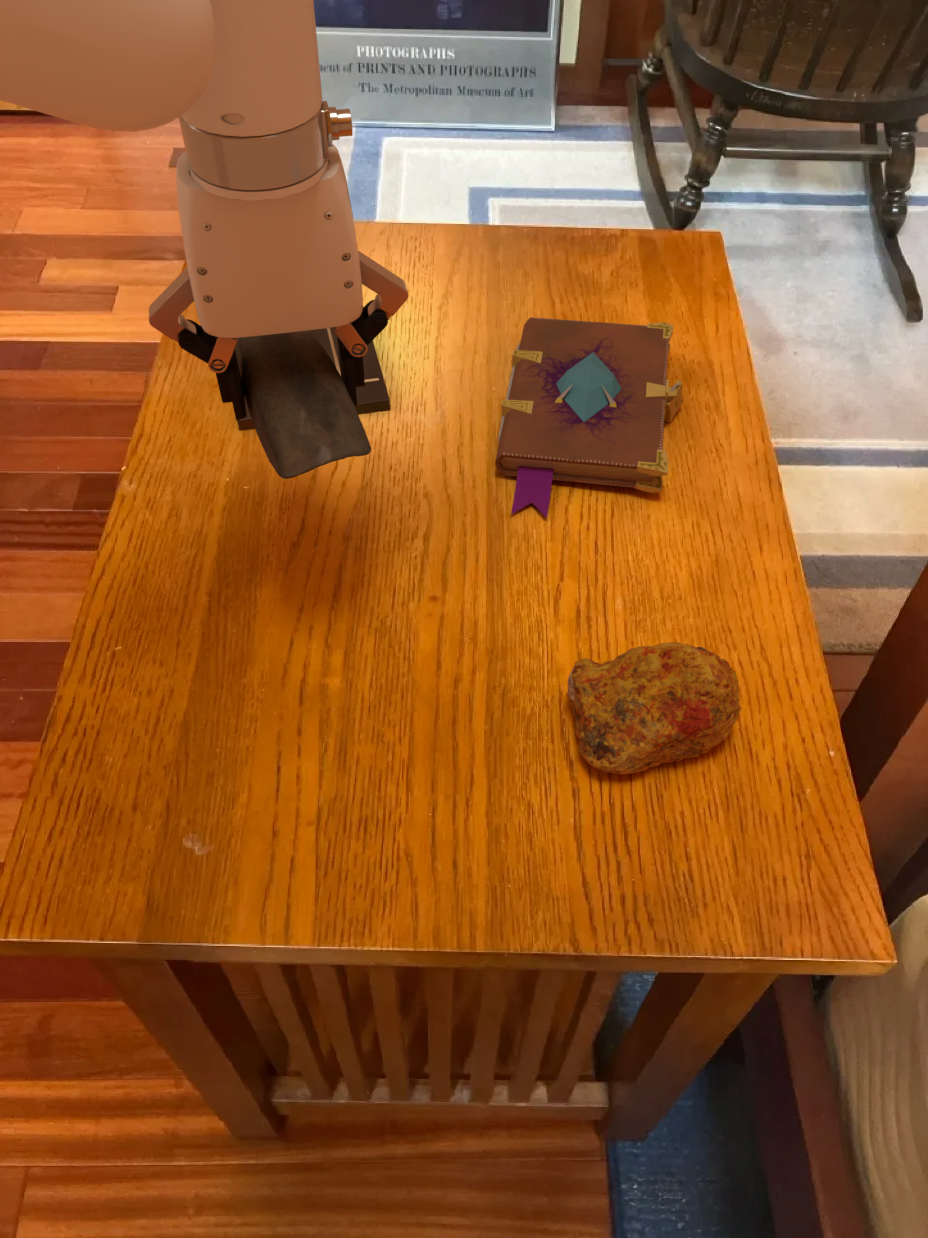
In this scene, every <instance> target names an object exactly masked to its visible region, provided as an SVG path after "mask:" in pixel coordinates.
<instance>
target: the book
mask: <svg viewBox="0 0 928 1238" xmlns="http://www.w3.org/2000/svg"><path fill="white" fill-rule="evenodd" d="M673 332H674V325H673V324H671V323H667V322H665V321H664V322H647V324H646V325H643V324H632V323H631V324H628V323H617V322H616V323H615V322H604V321H603V322H602V321H590V320H589V321H587V320H574V319H559V318H558V319H557V318H548V317H547V318H546V317H545V318H544V317H532V316H531V317H529V318H528V319H527V320H526V321H525V322H524V324H523V327H522V333H521V338H520V341H519V342H518V344H517V347H516V349H512V354H511V373H510V378H509V382H508V387H507V391H506V395H505V396H506V397H505V399H502V401H501V405H500V406H501V408H500V409H501V410H500V411H501V412H500V413H501V420H500V424H499V428H498V429H499V430H498V440H497V444H498V447H497V451H496V456H495V464H494V466H495V468H496V469H497V471H498V472H499V473H500V474H501V475H502V476H508V477H509V476H510V477H516V482H515V488H514V496H513V502H512V507H511V513H510V515H513V514H516V513H517V512H518V511H520V510H522V509H524V508H525V507H528V506H529V505H530V504H532V506H534V507H535V508H536V509H537V510H538V511H539V512H540V513H541V514H542V515H543V516H544V517H545V518H546V519H548V514H549V507H550V500H551V493H552V486H553V481H561V482H562V481H563V482H573V483H581V484H582V483H584V484H593V485H601V486H602V485H604V486H614V487H625V488H633V489H636V490H640V491H642V492H647V493H650V494H656V493H662V492H663V483H664V482H663V481H664V480H663V476H668V475H669V458H668V453H667V450H666V449H663V447H664V429H665V428H664V427H665V422H666V423H669V424H671V422H672V421H673V419H674V418H675V416H676V415H677V412H678V411H679V409H680V408H681V406H682V404H683V402H684V398H683V381H681V380H678V379H677V380H676V381H675V383H674V384H673V385H672V386H669V383H670V380H669V379H667V374H668V357H669V355H670V349H671V343H670V341H671V339H672V336H673Z"/></svg>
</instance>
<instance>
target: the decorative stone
mask: <svg viewBox="0 0 928 1238" xmlns="http://www.w3.org/2000/svg"><path fill="white" fill-rule="evenodd" d="M235 351H236V356H237V360H238V365H239V370H240V375H241V380H242V385H243V391H244V397H245V400H246V403H247V406H248V410H249V413H250V415H251V419H252V421H253V424H254V427H255V428H254V429H255V432H256V435H257V437H258V440H259V442H260V444H261V446H262V449H263V451H264V453H265V456H266V457H267V459H268V462H269V463H270V465H271V466H272V468H273V470H274V471H275V473H276V474H277V476H278V477H280V478H281V479H283V480H290V479H293V478H297V477H298V476H301V475H304V474H306V473H309V472H311V471H313V470H315V469H318V468H320V467H322V466H325V465H327V464H330V463H333V462H337V461H339V460H345V459H346V458H353V457H364V456H367V455H369V454H370V453H372V446H371V443H370V441H369V438H368V436H367V433H366V430H365V427H364V425H363V423H362V421H361V418H360V416H359V415H360V414H358V413H357V411H356V409H355V407H354V404H353V402H352V400H351V397H350V395H349V393H348V391H347V389H346V387H345V384H344V382H343V380H342V378H341V376H340V374H339V372H338V370H337V369H336V367H335V365H334V363H333V362H332V360H331V358H330V357H329V355H328V354H327V352H326V351H325V350H324V348H323V347H322V346H321V344H320V343H319V342H318V340H317V339H316V338H315V337H314V336H313V335H312V334H311V333H310V331H309V330H307V331H298V332H289V333H280V334H270V335H261V336H251V337H240V338H239V339H238V341H237V344H236V347H235Z"/></svg>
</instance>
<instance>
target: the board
mask: <svg viewBox="0 0 928 1238" xmlns="http://www.w3.org/2000/svg"><path fill="white" fill-rule="evenodd" d="M309 331H310V333H311V334H312V335H313V336H314V337H315V338H316V339H317V340H318V342H319V343H320V344H321V346H322V347H323V348H324V350H325V351H326V352H327V354H328V355H329V357H330V358H331V360H332V362H333V363H334V365H335V367H336V369H337V370H338V372H339V374H340V376H341V371H340V361H339V351H338V341H337V335H336V334H335V333H334V331H333V330H332V329H331V328H325V329H316V330H309ZM380 364H381V363H380V361H379V357H378V354H377V349H376V346H375V343H374V340H373V341H372V342H371V343H370V344H369V345H368V346H367V353H366V354H365V355H364V356H363V367H364V380H365V386H364V387H356V395H357V406H354V407H355V409H356V411H357V413H358V415H360V414H362V415H363V414H367V413H368V414H369V413H375V412H382V411H389V410H390V411H391V400H390V396H389V392H388V389H387V385H386V381H385V378H384V374H383V372H382V367H381V365H380ZM244 398H245V397H244ZM245 406H246V415H247V417H244V419H242V420H236V423H237V427H238V430H239V431H244V430H252V429H255V427H254V424H253V421H252V419H251V415H250V413H249V410H248V406H247V403H246V400H245Z"/></svg>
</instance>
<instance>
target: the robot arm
mask: <svg viewBox="0 0 928 1238" xmlns="http://www.w3.org/2000/svg"><path fill="white" fill-rule="evenodd" d="M314 3H315V2H314V0H0V101H1V102H4V103H9V104H13V105H16V106H19V107H22V108H25V109H29V110H32V111H35V112H38V113H41V114H44V115H49V116H51V117H55V118H57V119H62V120H65V121H68V122H71V123H75V124H78V125H81V126H84V127H89V128H94V129H97V130H103V131H109V132H110V131H111V132H132V133H136V132H142V131H147V130H154V129H157V128H159V127H162V126H164V125H167V124H170V123H172V122H173V121H175V120H177V119H178V122H179V126H180V132H181V136H182V141H183V145H184V150H185V151H184V152H183V153H182V154H180V156H179V157H177V160H176V167H175V168H176V169H175V179H176V180H175V182H176V195H177V198H176V199H177V208H178V215H179V223H180V230H181V236H182V242H183V249H184V255H185V260H186V261H185V262H186V267H185V268H184V269H183V270H182V271H181V272H180V273H179V274H178V275H177V277H176V278H175V279H173V280H172V282H171V283H170V284H169V285H168V286H167V287H166V288H165V289H164V290H163V291H162V292H161V293H160V294H159V295H158V296H157V297H156V299H154V301H152V303H150V305H149V306H148V322H149V325H150V326H151V327H152V328H153V329H155V330H156V331H158V332H159V333H161V334H163V336H166V337H167V338H169V339H170V340H172V341H173V340H174V341H175V342H176V343H178V346H179V348H181V349H182V350H183V351H186V352H187V353H189V354H191V356H193V357H195V358H197V359H199V360H200V361H202V362H203V363H206V364H207V367H208V369H209V370H210V371H211V372H212V373H215V377H216V381H217V385H218V390H219V394H220V398H221V403H222V404H227V403H232V407H233V413H234V416H235V420H236V421H237V420H242V419H244V417H247V415H246V406H245V398H244V391H243V385H242V380H241V375H240V370H239V365H238V360H237V356H236V351H235V347H236V344H237V341H238V339H239V338H240V337H251V336H261V335H270V334H280V333H289V332H298V331H307V330H316V329H325V328H331V329H332V330H333V331H334V333H335V334H336V335H337V341H338V351H339V361H340V371H341V378H342V380H343V382H344V384H345V387H346V389H347V391H348V393H349V395H350V397H351V400H352V402H353V404H354V406H357V395H356V387H364V386H365V380H364V367H363V356H364V355H365V354H366V353H367V346H368V345H369V344H370V343H371V342H372V341H373V342H374V340H375V339H376V338H377V337H378V336H379V335H380V334H381V333H382V332H383V331H384V330H385V329H386V327H387V326H388V325H389V320H390V319H391V317H394V316H395V315H396V314H397V312H399V310H400V309H401V307H402V306H403V305H404V304H405V303H406V302H407V301H408V299H409V292H408V291H409V290H408V289H407V284H406V282H405V280H404V279H403V278H401V277H400V276H399V275H396V274H395V273H393V272H392V271H390V270H389V269H387V268H386V267H384V266H383V265H382V264H380V263H378V262H377V261H375V260H373V259H372V258H370V257H369V256H367V255H366V254H364V253H363V252H361V251H360V250H359V247H358V239H357V233H356V232H357V231H356V226H355V219H354V214H353V213H354V212H353V208H352V201H351V198H350V193H349V186H348V181H347V177H346V173H345V168H344V165H343V162H342V158H341V155H340V152H339V149H338V148H337V146H336V145H334V144H333V141H339V140H340V138H343V137H352V136H353V134H354V133H353V132H354V131H353V120H352V114H351V109H350V108H342V109H341V108H340V109H337V107H336V106H329V104H328V101H327V100H323V90H322V77H321V68H320V57H319V45H318V36H317V25H316V24H317V23H316V15H315V4H314ZM363 286H365V287H366V288H367V289H369V290H370V291H372V292H374V293H375V294H376V295H375V296H374V298H373V299H372V300H369V302H367V303H366V304H365V305H364V298H363V296H364V295H363ZM193 303H194V306H195V310H196V314H197V319H198V320H199V323H197V322H196V321H194V320H193V319H190V318H185V315H183V313H184V312H185V311H186V310H187V309H188V308H189V307H190V306H191V305H192V304H193Z"/></svg>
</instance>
